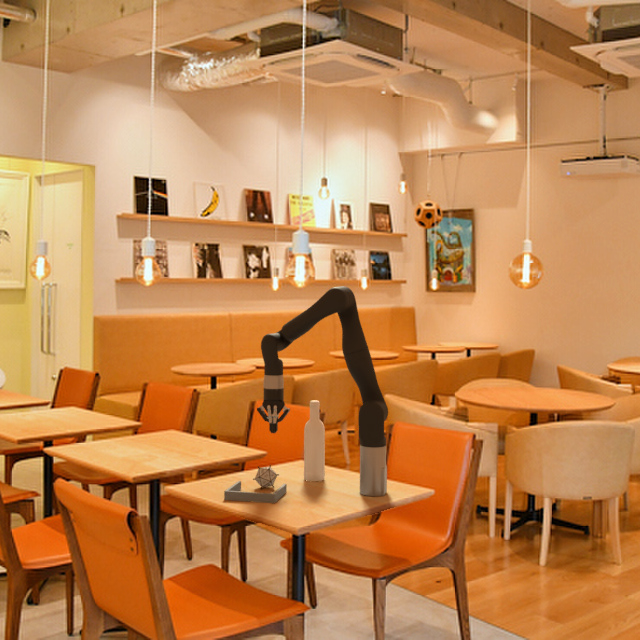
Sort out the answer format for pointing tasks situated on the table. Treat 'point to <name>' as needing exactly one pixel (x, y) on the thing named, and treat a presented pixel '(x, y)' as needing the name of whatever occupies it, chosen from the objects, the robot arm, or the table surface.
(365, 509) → the table surface
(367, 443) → the robot arm
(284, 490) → the bay
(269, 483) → the game die
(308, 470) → the bottle
